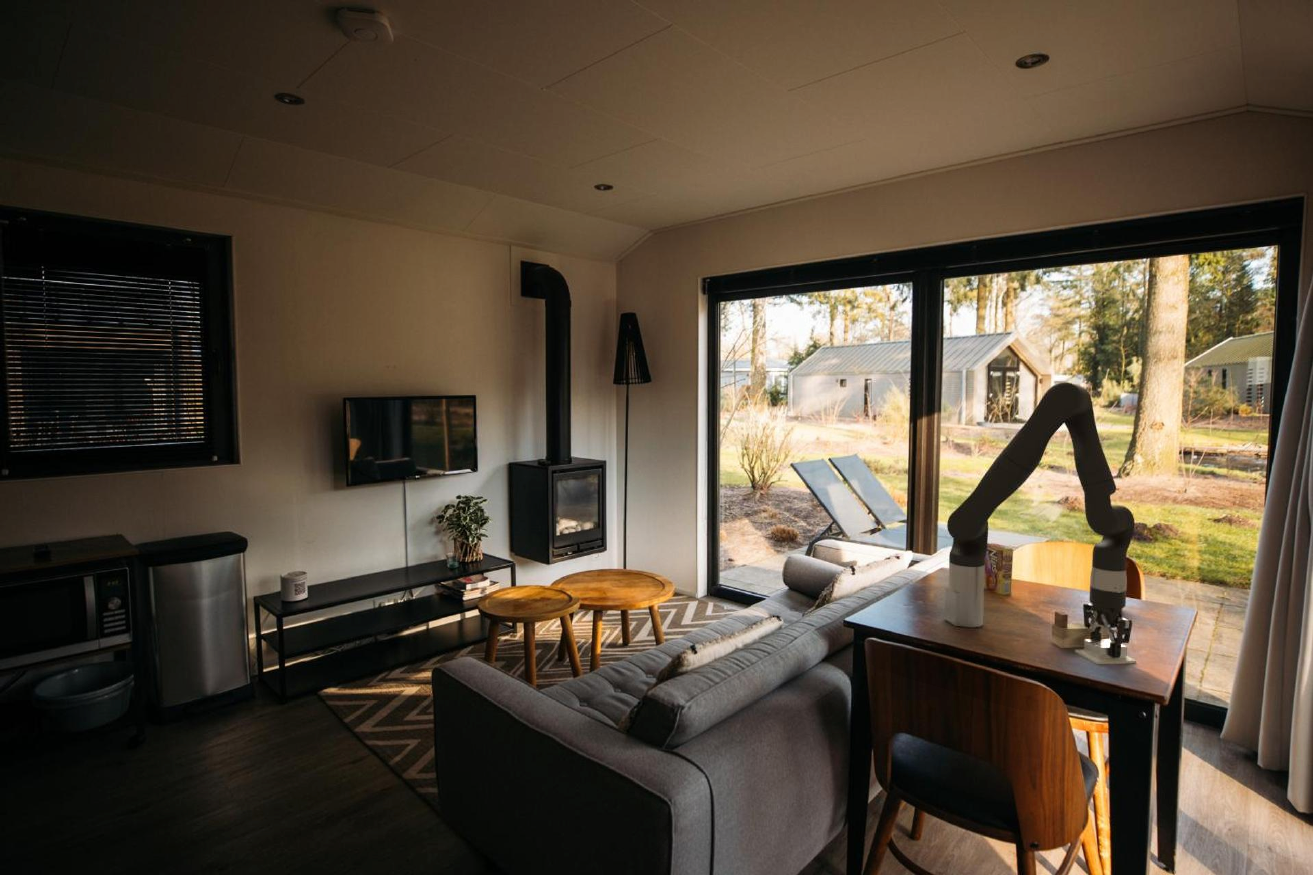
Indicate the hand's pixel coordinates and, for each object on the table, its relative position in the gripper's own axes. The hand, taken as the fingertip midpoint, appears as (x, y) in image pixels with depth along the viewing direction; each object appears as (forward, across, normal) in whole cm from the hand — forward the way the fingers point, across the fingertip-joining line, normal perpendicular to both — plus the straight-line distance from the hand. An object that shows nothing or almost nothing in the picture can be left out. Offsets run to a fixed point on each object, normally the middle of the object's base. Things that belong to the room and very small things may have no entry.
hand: (1105, 652), depth 172 cm
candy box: (+2, -57, +6) cm, 57 cm away
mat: (+1, 0, 0) cm, 1 cm away
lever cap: (+1, 0, 0) cm, 1 cm away
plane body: (+1, -9, 0) cm, 9 cm away
